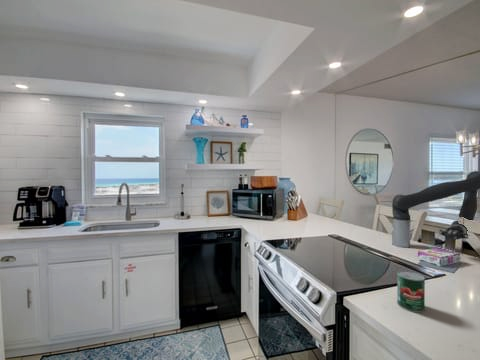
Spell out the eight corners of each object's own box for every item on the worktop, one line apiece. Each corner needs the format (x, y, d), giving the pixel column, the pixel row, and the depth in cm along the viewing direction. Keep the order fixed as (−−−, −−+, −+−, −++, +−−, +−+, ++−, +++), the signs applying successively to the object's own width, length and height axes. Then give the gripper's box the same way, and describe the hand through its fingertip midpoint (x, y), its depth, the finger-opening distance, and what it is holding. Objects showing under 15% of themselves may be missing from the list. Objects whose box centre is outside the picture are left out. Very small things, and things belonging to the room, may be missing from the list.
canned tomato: (412, 300, 88) (413, 270, 87) (430, 312, 80) (431, 279, 80) (391, 300, 87) (392, 270, 87) (407, 312, 79) (408, 280, 79)
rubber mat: (417, 264, 123) (417, 263, 123) (427, 256, 134) (427, 256, 134) (453, 273, 112) (453, 272, 112) (460, 264, 123) (460, 263, 123)
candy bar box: (460, 253, 124) (441, 257, 118) (460, 262, 124) (440, 267, 118) (436, 246, 135) (417, 250, 129) (436, 255, 135) (417, 259, 129)
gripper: (442, 223, 144) (434, 227, 133) (472, 227, 134) (466, 231, 123) (441, 235, 144) (434, 240, 133) (472, 240, 134) (466, 246, 123)
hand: (449, 236), depth 128 cm, fingers closed
